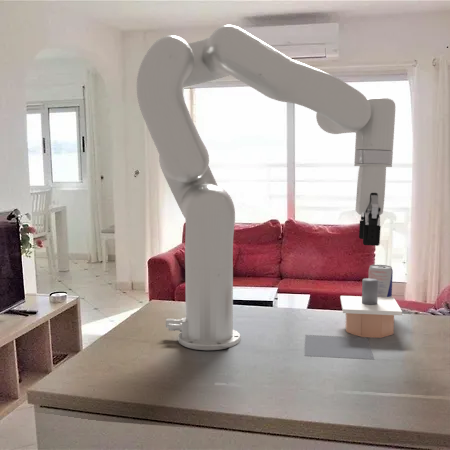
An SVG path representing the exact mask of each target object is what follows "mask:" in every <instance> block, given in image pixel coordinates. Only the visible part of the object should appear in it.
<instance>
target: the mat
mask: <svg viewBox="0 0 450 450" xmlns="http://www.w3.org/2000/svg"><path fill="white" fill-rule="evenodd" d="M304 338H305V340H304V357H320V358H321V357H322V358H338V359H339V358H341V359H359V360H373V361H374V360H375V357H374V354H373V351H372V347H371V344H370V340H369V337H360V336H358V337H357V336H343V335H342V336H339V335H338V336H337V335H320V334H319V335H317V334H316V335H315V334H305V337H304Z"/></svg>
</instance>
